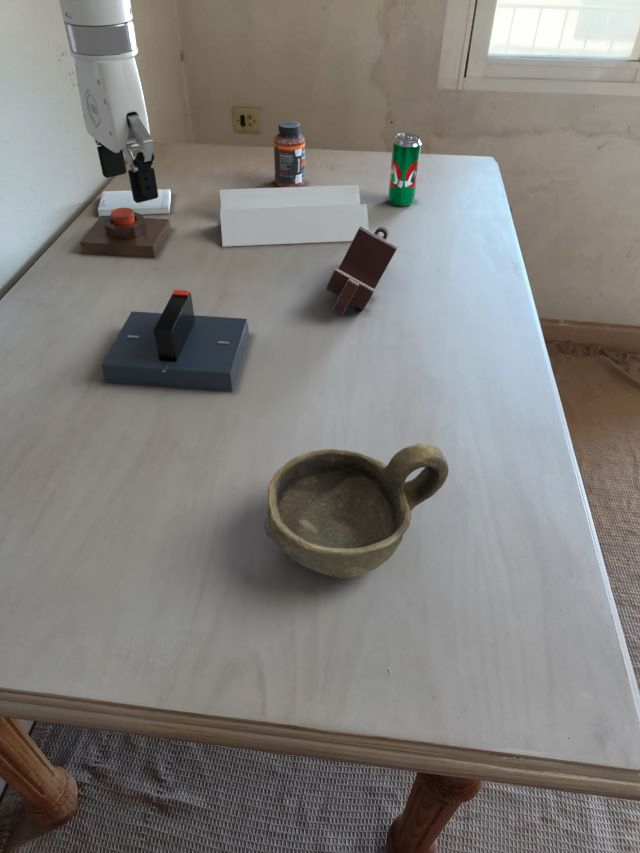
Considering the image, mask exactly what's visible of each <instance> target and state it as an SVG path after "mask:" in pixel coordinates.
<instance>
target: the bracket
mask: <svg viewBox="0 0 640 853" xmlns="http://www.w3.org/2000/svg"><path fill="white" fill-rule="evenodd" d="M379 233H382V234H383V236H382V235H380V234H379ZM388 236H389V230H388V229H387V227H384V226H379V227H377V228H376V230H375V231H374V232H372V231H371V230H370V229H369V230H367V229H366V228H364V227H362V226H360V227H359V229H358V231H357V233H356V235H355V237H354V239H353V241H351V243H350V245H349V247H348V248H347V251H346V253H345V254H344V257H343V259H342V261H341V263H340V264H339V266H338V268H337V267H335V268H334V271H333V272H332V274H331V276H330V278H329V281H328V283H327V285H326V287H325V290H326V291H328V292H330V293H332V294H333V295H335V296H337V297H338V298H337V300H336V302H335V304H334V305H333V307H332V310H333V311H334V312H336V313H338V314H340V315H341V316H343V315H344V313H345V311H346V310H347V308H348V306H349V305H350V304H351V305H353V306H355V307H357V308H358V309H360V310H362V311H364V310H365V309H366V307H367V305H368V303H369V301H370V299H371V298H372V296H373V295H374V292H375V290H376V287H377V286H378V284H379V282H380V280H381V278H382V277H383V275H384V273H385V271H386V270H387V267H388V266H389V264H390V262H391V260H392V258H393V257H394V255H395V253H396V251H397V250H398V248H399V246H397V245H396V244H394V243H393V242H390V241H388V240H387V237H388Z"/></svg>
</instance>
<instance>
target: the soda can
mask: <svg viewBox="0 0 640 853" xmlns="http://www.w3.org/2000/svg"><path fill="white" fill-rule="evenodd" d="M420 137H421V136H420V135H419V134H417V133H413V132H400V133H397V134H396V135H395V138H394V139H393V141H392V145H391V146H392V147H391V158H390V170H389V182H388V192H387V200H388V202H389V203H390V204H391V205H392V206H395V207H400V208H404V207H409V206H411V205H413V203H414V202H415V201H416V200H415V199H416V191H417V184H418V183H417V182H418V175H419V168H420V167H419V166H420V158H421V150H422V142H421V138H420Z"/></svg>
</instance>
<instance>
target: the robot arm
mask: <svg viewBox="0 0 640 853" xmlns="http://www.w3.org/2000/svg"><path fill="white" fill-rule="evenodd" d="M58 2H59V6H60V10H61V15H62V20H63V24H64V29H65V33H66V37H67V42H68V45H69V51H70V54H71V57H73V58H74V66H75V73H76V75H75V76H76V81H77V82H76V83H77V87H78V93H79V99H80V106H81V109H82V110H81V111H82V115H83V119H84V120H83V121H84V126H85V129H86V131H87V133H88V134H89V135H90V136H91V138H93V139H94V142H95V145H96V148H97V154H98V158H99V163H100V168H101V173H102V176H103V177H104V178H106V179H109V178H112V177H117V176H122V175H125V174H126V173H128V178H129V179H128V180H129V184H130V188H131V190H130V191H132V195H133V200H134V201H135V202H136V203H140V202H144V201H148V200H152V199H156V198H157V197H158V190H159V189H158V184H157V179H156V172H155V167H156V165H155V157H156V156H155V153H154V140H153V138H152V136H151V133H150V124H149V118H148V117H149V116H148V112H147V107H146V102H145V96H144V92H143V87H142V83H141V78H140V74H139V70H138V66H137V61H136V58H135V56H137V54H138V53H139V48H138V47H139V46H138V43H137V36H136V30H135V23H134V17H133V10H132V3H131V0H58ZM137 151H138V152H137ZM133 152H136V155H135V157H134V154H133ZM125 159H126V161H127V164H128V166H129V168H130V169H129V170H127V166H126V161H125Z"/></svg>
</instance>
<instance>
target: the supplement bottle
mask: <svg viewBox="0 0 640 853" xmlns="http://www.w3.org/2000/svg"><path fill="white" fill-rule="evenodd" d="M278 132H279V133H277V134H276V135H275V136H274V139H273V155H274V156H273V158H274V159H273V160H274V181H275V184H276V185H277V186H278V187H279V188H282V187H303V185H305V182H306V139H305V137H304V136H303V135H302V133H301V124H300V123H299V122H298V121H295V120H285V121H281V122H279V123H278Z"/></svg>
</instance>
